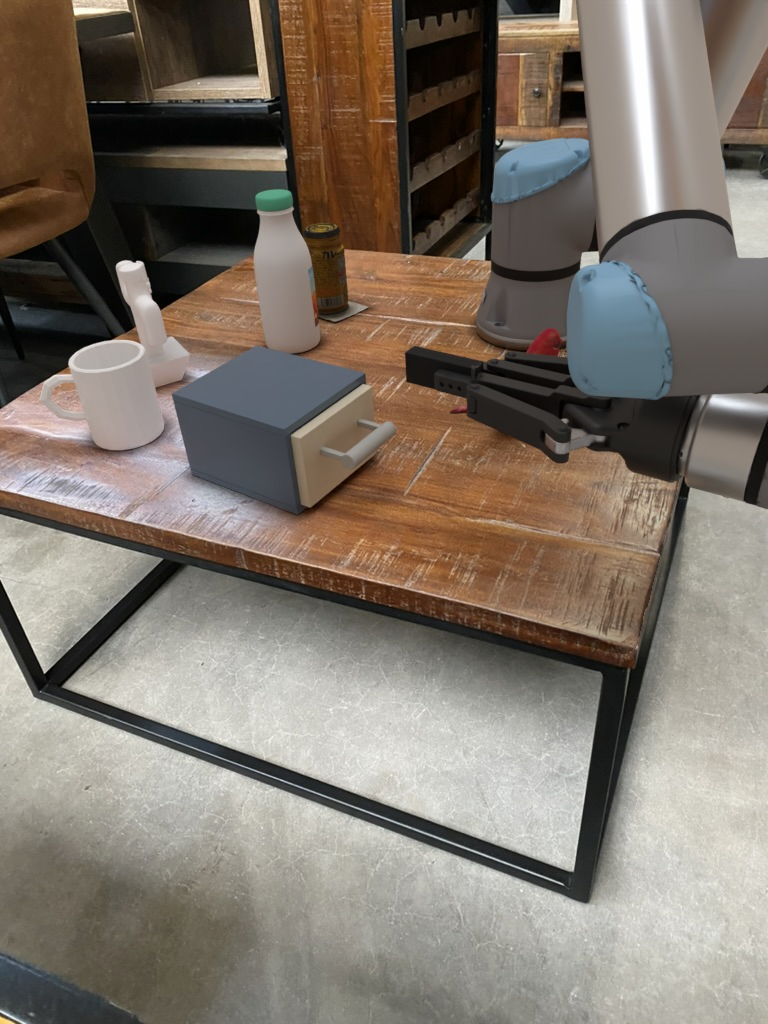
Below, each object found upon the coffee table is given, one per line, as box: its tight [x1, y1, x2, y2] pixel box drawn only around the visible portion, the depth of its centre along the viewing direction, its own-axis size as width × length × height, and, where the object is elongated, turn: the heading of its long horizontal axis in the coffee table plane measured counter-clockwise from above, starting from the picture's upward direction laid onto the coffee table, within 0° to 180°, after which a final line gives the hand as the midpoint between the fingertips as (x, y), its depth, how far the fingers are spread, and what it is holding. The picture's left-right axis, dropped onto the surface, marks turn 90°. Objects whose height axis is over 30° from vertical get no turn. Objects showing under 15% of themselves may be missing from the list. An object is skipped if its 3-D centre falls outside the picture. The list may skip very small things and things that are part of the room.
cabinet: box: [171, 345, 367, 516], centre depth 79 cm, size 15×13×10 cm
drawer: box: [291, 384, 397, 508], centre depth 77 cm, size 18×11×8 cm, turn 56°
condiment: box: [302, 222, 369, 322], centre depth 113 cm, size 7×8×12 cm
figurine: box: [115, 259, 191, 389], centre depth 96 cm, size 7×9×15 cm
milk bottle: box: [253, 188, 321, 355], centre depth 101 cm, size 8×8×20 cm
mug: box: [39, 339, 165, 451], centre depth 86 cm, size 8×12×10 cm
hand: (410, 364), depth 65 cm, fingers closed
